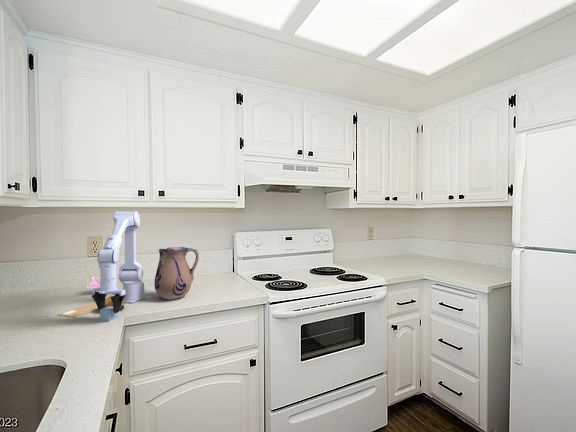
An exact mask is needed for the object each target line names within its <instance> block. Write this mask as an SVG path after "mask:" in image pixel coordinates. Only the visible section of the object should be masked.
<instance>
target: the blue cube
mask: <svg viewBox="0 0 576 432" xmlns="http://www.w3.org/2000/svg"><path fill="white" fill-rule="evenodd" d="M116 319H119V312H118V313H114V311H113V307H111V306H109V307H106V308H103V309H101V310H100V312H99V321H101V322H108V323H110V322H112V321H114V320H116Z"/></svg>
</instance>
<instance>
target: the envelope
mask: <svg viewBox="0 0 576 432" xmlns="http://www.w3.org/2000/svg"><path fill="white" fill-rule="evenodd" d="M97 310H98V307H97V305H96V302H89V303H86V304H83V305H80V306H77V307H74V308H70V309H68V310H66V311H63V312H61V313H57V314H56V316H62V317H69V318H70V317H71V318H77V317H81V316H83V315H85V314H88V313H92V312H94V311H97Z"/></svg>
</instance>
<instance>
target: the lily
mask: <svg viewBox="0 0 576 432" xmlns="http://www.w3.org/2000/svg"><path fill="white" fill-rule="evenodd" d="M91 278H92V282H90V283H89V284H87V285H86V286H85V288H87V289H93V288H96V287H97V288H100V277H99V278H98V277H96V276H93V275H92V276H91Z"/></svg>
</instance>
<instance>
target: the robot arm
mask: <svg viewBox="0 0 576 432" xmlns="http://www.w3.org/2000/svg"><path fill="white" fill-rule="evenodd" d="M112 217H113V223H114V226H113V231H112V234H111V235H108V237H107V239H106V241H105V243H104V246H103V247H102V249H101V250H99V251H98V252H97V256H96V262H97V263H98V268H99V270H100V271H99V272H100V276H99V278H100V288H97V287H96V288H93V289H92V288H91V289H92V292H91V293H92V295H91V298H92V299H93V300H94V303H96V305H97V307H98V309H97V310H98V312H99V313H100V310H101V309H103V308H105V298H107V295H111V296H112V297H111V300H112V303H113V311H114V313H118V314H119V312H121V311H120V307H121V304H122V301H124V303H129V304H132V303H135V302H138V301H141V300H143V299H145V298H146V297H147V296H145V283H144V282H143V279H144V270H143V269H144V268H143V265H142V264H141V263H139V262H137V229H139V228H140V225H141V223H140V222H141V219H140V218H141V216H140V214H139V212H138V211H137V210H136V211H117V210H116V211H114V213H113V216H112ZM123 235H124V263H123V264H121V266H119V270H118V272H117V268H118V267H117V263H118V261H119V260H120V253H121V252H120V249H121V246H122V244H123V238H122V237H123ZM117 273H118V275H117ZM117 276H118V278H117ZM117 279H118V281H119V282H121V284H122V288H119V287H118V286H117V285H118V281H117Z"/></svg>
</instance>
